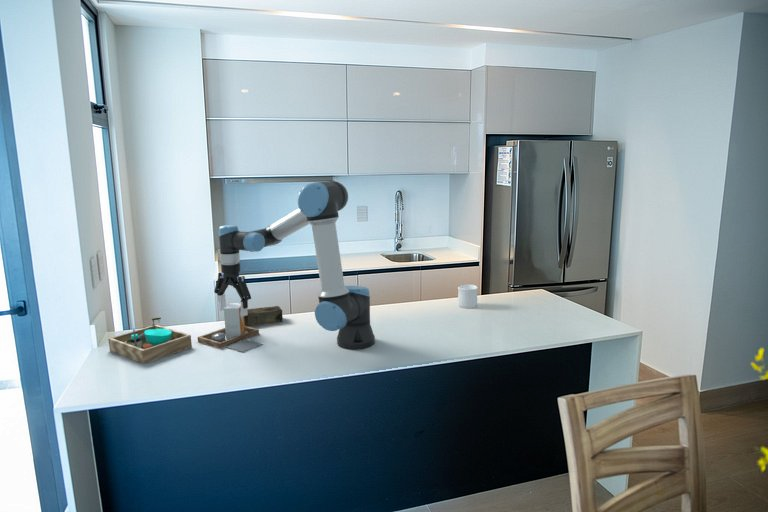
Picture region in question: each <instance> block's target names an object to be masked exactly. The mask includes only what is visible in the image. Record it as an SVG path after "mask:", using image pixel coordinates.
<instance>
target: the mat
mask: <svg viewBox="0 0 768 512" xmlns="http://www.w3.org/2000/svg"><path fill="white" fill-rule="evenodd" d="M262 345H263V343H261V342H257V341H254V340H250V339H248V338H247V339H244V340H242V341H239V342H237V343H234V344H231V345H229V346H226V347H225V348H227V349H230V350H233V351H236V352H239V353H242V354H244V353H245V352H248V351H251V350H254V349H256V348H258V347H260V346H262Z"/></svg>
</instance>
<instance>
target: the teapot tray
mask: <svg viewBox="0 0 768 512" xmlns="http://www.w3.org/2000/svg"><path fill="white" fill-rule="evenodd" d="M151 329H168V330H170V331H171V332H172V334H171V338H170V340H171V341H168V342H165V343H162V344H159V345H156V346H153V347H150V348H147V349H141V348H138V347H136V346H133V345H130V344H129V343H128V340H129V339H131V335H134V334H133V330H132V331H130V332H126V333H125V332H124V333H122V334H118V335H117V336H113V337H109V338H108V347H109V351H110V352H111V353H115V354H118V355H121V356H123V357H125V358H128V359H130V360H134V361H137V362H138V363H141V364H144V365H145V364H148V363H150V362H151V363H152V362H154V361H157V360H159V359H162V358H165V357H167V356H170V355H173V354H177V353H179V352H182V351H184V350H189V349H191V348H192V347H193V346H192V335H191V334H189V333H185V332H182V331H178V330H176V329H171V328H170V327H169V328H168V327H165V326H161V325H158V324H155V326H153V325H150V326H146V327H143V328H140V329H135V334H138V336H139V335H141V334H143V333H144V332H145V331H146V330H151ZM125 341H126V343H125ZM146 341H147V340H146V338H145V337H143V338H142V342H146Z"/></svg>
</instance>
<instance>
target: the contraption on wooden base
mask: <svg viewBox="0 0 768 512" xmlns="http://www.w3.org/2000/svg"><path fill="white" fill-rule="evenodd" d="M161 319H162V318H161V317H154V318H151V321H152V326H155V325H156V324H155V322H154V321H158V323H161V321H160V320H161ZM132 331H133V334H134V335H131V339H129V340H128V343H129V344H130V345H133V346H136V347H138V348H141V349H147V348H150V347H153V346H156V345H159V344H162V343H165V342H168V341H171V340H170V338H171V334H172V332H171V331H170V330H168V329H151V330H146V331H145V332H144V333H143V334H141V335H139V336H138V334H135V331H136V329H135V328H133V329H132ZM143 337H145V338H146V340H145V341H146V342H143V341H142V338H143ZM125 343H126V341H125Z"/></svg>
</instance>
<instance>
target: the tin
mask: <svg viewBox="0 0 768 512" xmlns="http://www.w3.org/2000/svg"><path fill="white" fill-rule="evenodd" d="M211 340H213V341H217V342H223V341H226V340H227V339H226V333H215V334H213V335H212V338H211Z"/></svg>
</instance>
